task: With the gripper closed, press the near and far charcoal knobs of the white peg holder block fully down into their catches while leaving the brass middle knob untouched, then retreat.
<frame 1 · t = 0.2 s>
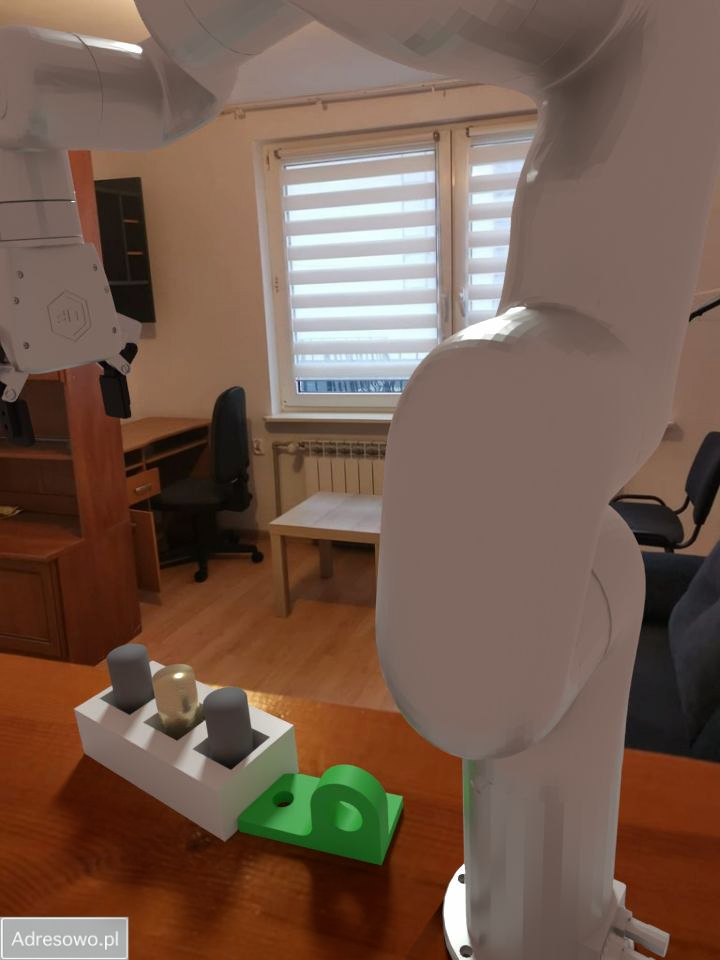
hand: (73, 430, 64), 31 cm above the table, fingers open, 9 cm apart
white peg holder block: (189, 770, 66), on the table
far knob: (132, 681, 67), point 7 cm above the table, slide at 0.0 cm
mechanical part: (323, 828, 59), on the table, touching white peg holder block
near knob: (229, 730, 60), point 7 cm above the table, slide at 0.0 cm
brass knob: (178, 704, 63), point 7 cm above the table, slide at 0.0 cm
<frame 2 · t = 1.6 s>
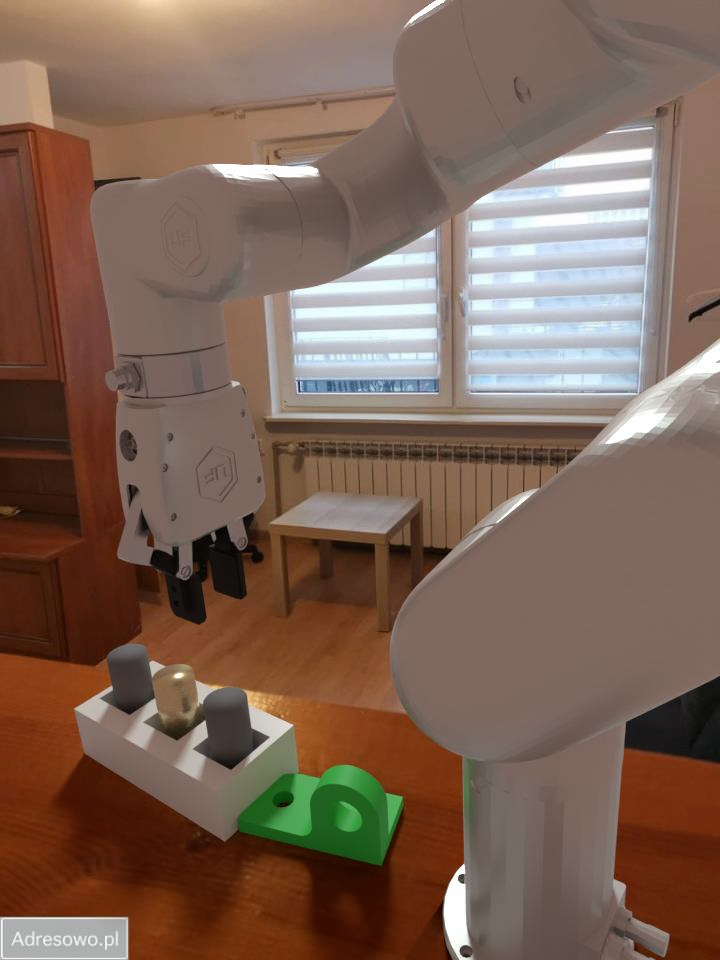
hand: (210, 604, 56), 19 cm above the table, fingers open, 3 cm apart
nothing on the table moved.
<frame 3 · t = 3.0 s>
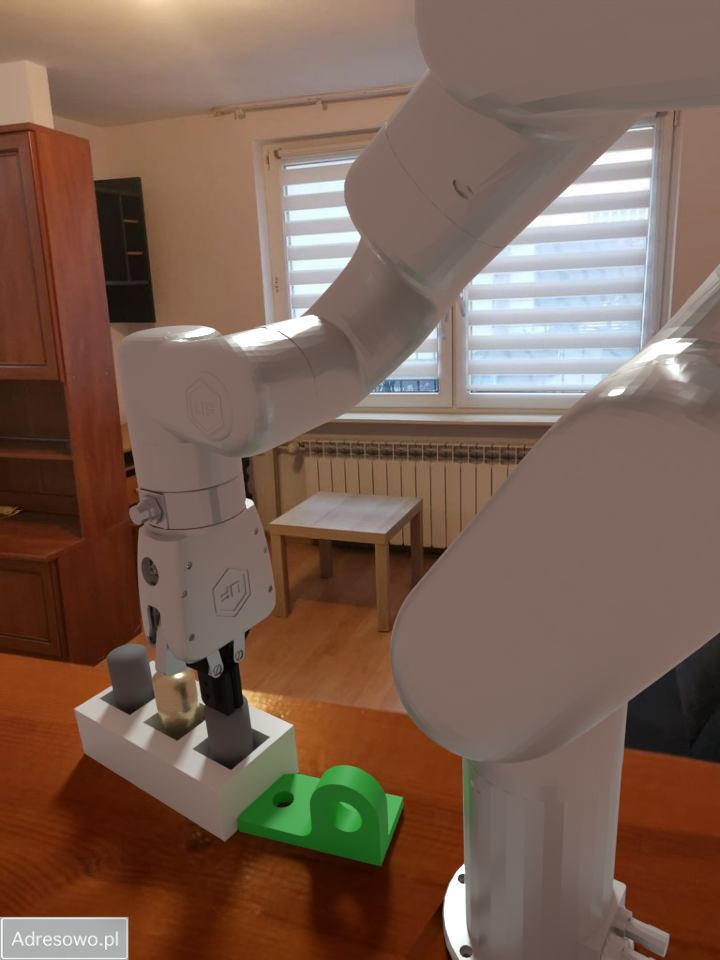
hand: (223, 704, 59), 10 cm above the table, fingers closed
near knob: (230, 735, 60), point 7 cm above the table, slide at 0.6 cm, touching gripper
everything else where it was.
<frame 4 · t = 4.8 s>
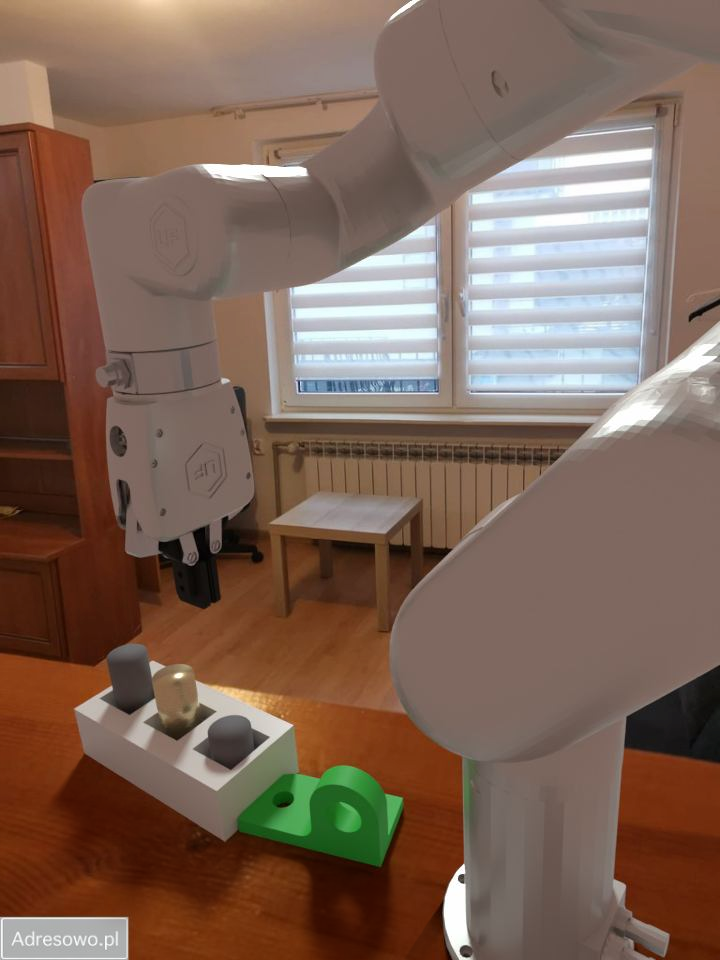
hand: (199, 600, 56), 19 cm above the table, fingers closed
near knob: (233, 758, 61), point 4 cm above the table, slide at 2.9 cm
everything else where it was.
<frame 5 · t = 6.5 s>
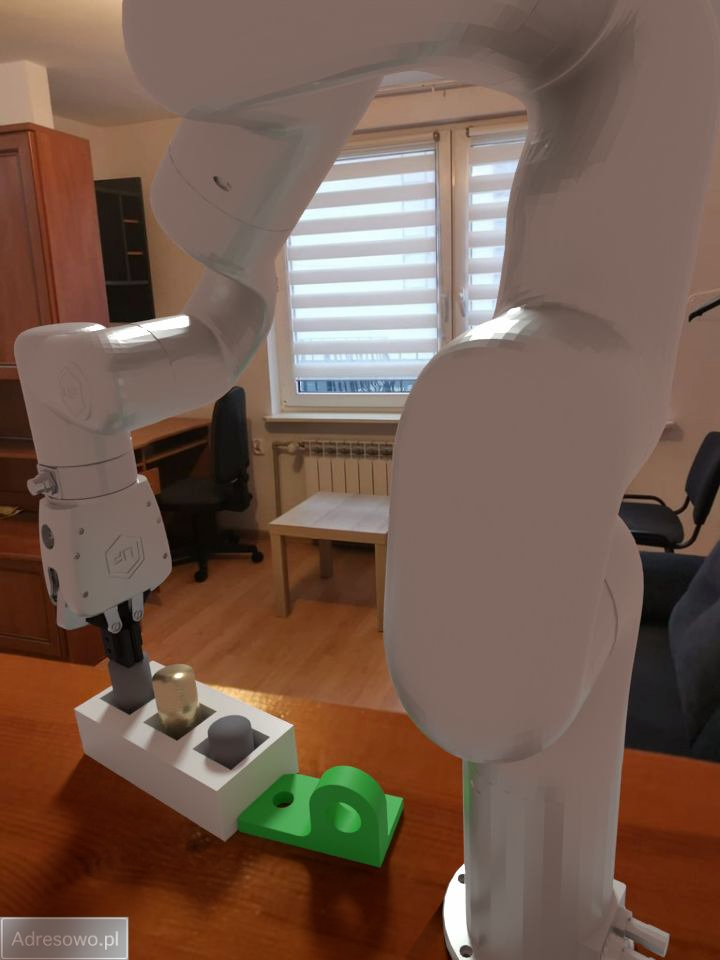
hand: (126, 659, 66), 10 cm above the table, fingers closed
far knob: (133, 687, 67), point 7 cm above the table, slide at 0.7 cm, touching gripper
everything else where it was.
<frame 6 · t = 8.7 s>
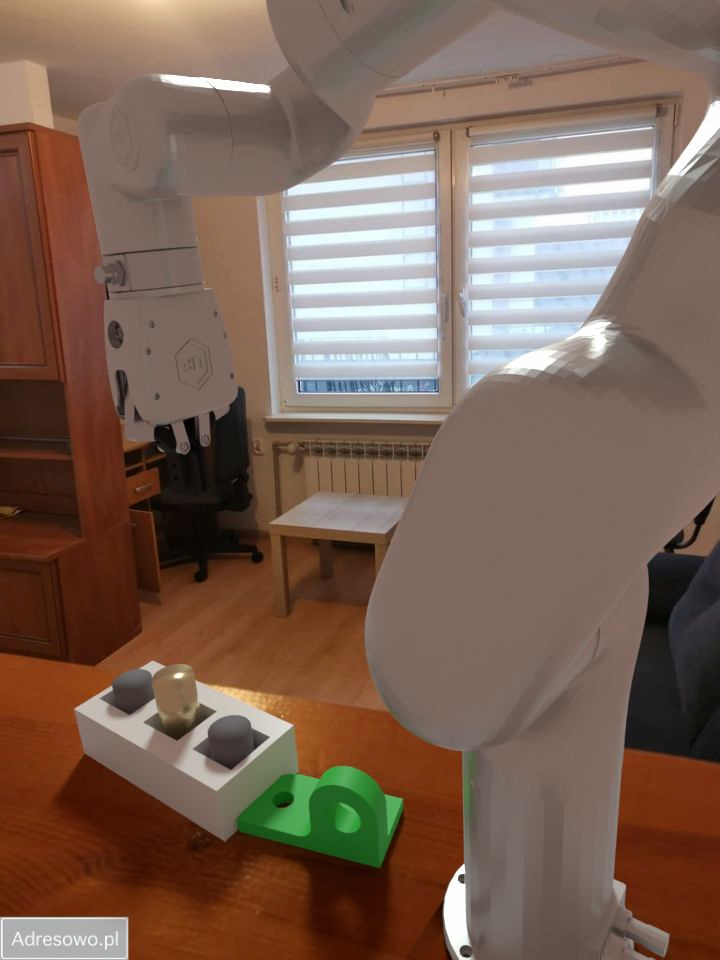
hand: (192, 492, 63), 25 cm above the table, fingers closed
far knob: (137, 707, 68), point 4 cm above the table, slide at 2.8 cm
everything else where it was.
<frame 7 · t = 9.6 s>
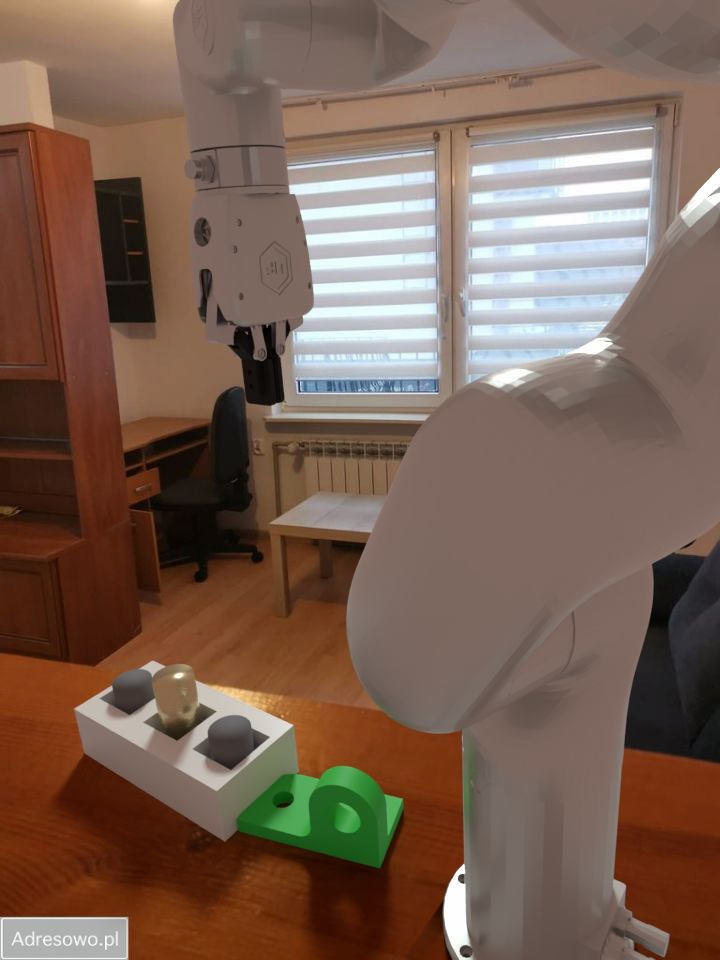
hand: (265, 402, 63), 32 cm above the table, fingers closed
nothing on the table moved.
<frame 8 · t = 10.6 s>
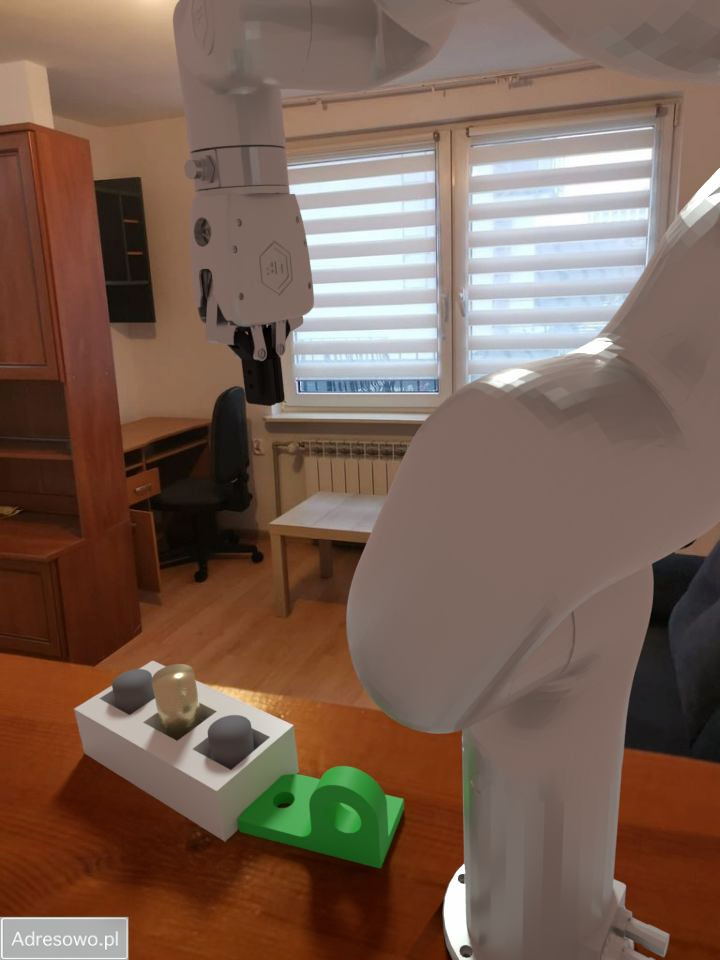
hand: (265, 402, 63), 32 cm above the table, fingers closed
mechanical part: (323, 830, 58), on the table, touching white peg holder block
everything else where it was.
at the end: near knob slide at 2.9 cm; far knob slide at 2.8 cm; brass knob slide at 0.0 cm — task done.
